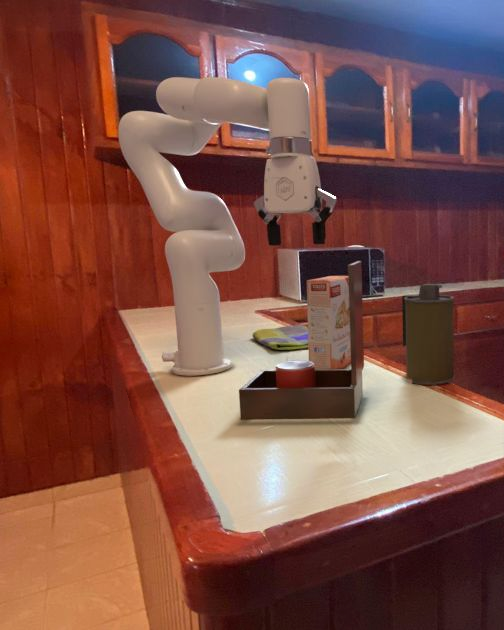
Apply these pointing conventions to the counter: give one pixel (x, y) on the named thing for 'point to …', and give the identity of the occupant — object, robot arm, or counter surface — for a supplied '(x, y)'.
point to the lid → (356, 320)
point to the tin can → (295, 374)
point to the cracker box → (329, 322)
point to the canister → (429, 336)
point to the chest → (301, 397)
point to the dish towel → (283, 337)
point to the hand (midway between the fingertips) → (296, 244)
